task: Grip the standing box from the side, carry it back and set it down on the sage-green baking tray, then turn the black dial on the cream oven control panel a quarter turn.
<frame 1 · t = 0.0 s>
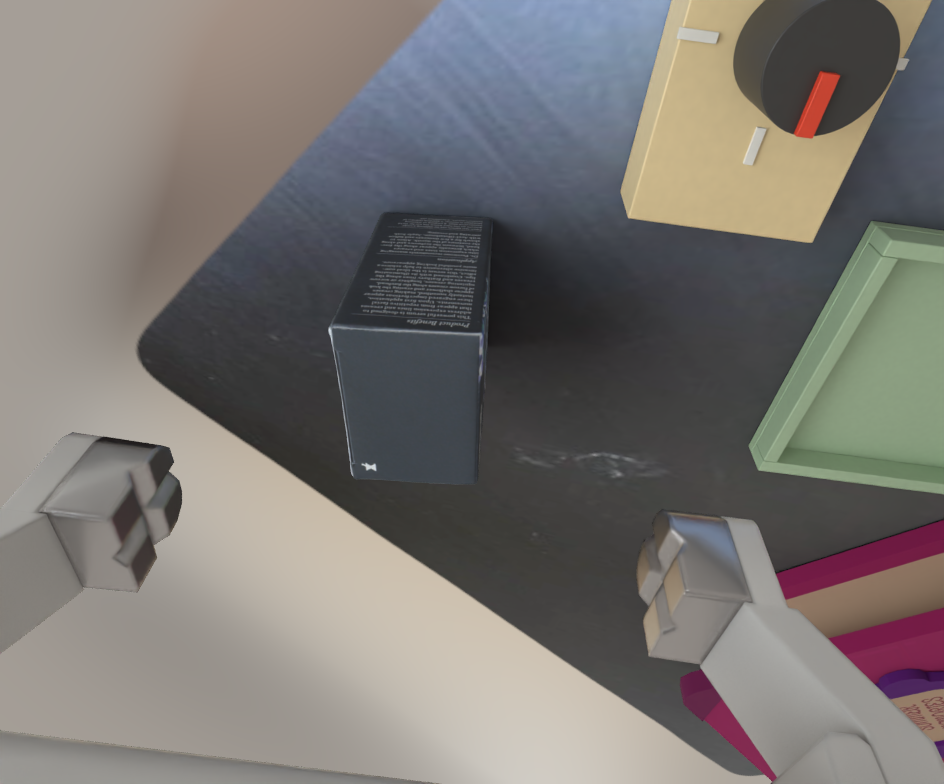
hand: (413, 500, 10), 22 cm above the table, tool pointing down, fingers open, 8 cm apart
book: (887, 617, 48), on the table
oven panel: (746, 88, 26), on the table
tray: (916, 363, 33), on the table
box: (438, 281, 33), on the table
dial: (811, 59, 21), point 5 cm above the table, hinge at 0.0°
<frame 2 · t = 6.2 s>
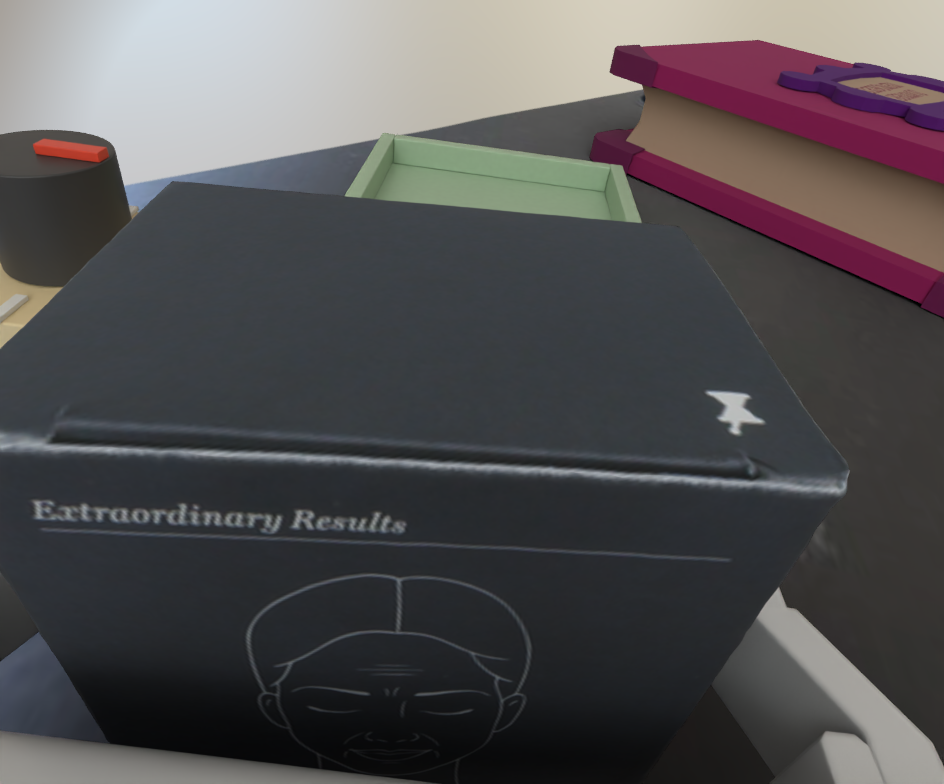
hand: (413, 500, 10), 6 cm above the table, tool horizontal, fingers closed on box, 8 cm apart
book: (831, 205, 43), on the table
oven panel: (152, 339, 23), on the table
tray: (493, 225, 34), on the table
box: (397, 712, 14), on the table, touching gripper
dial: (56, 202, 20), point 5 cm above the table, hinge at 0.0°
when the fingers open (7 cm above the table, at t = 16.5 s): box stays where it is, resting on tray.
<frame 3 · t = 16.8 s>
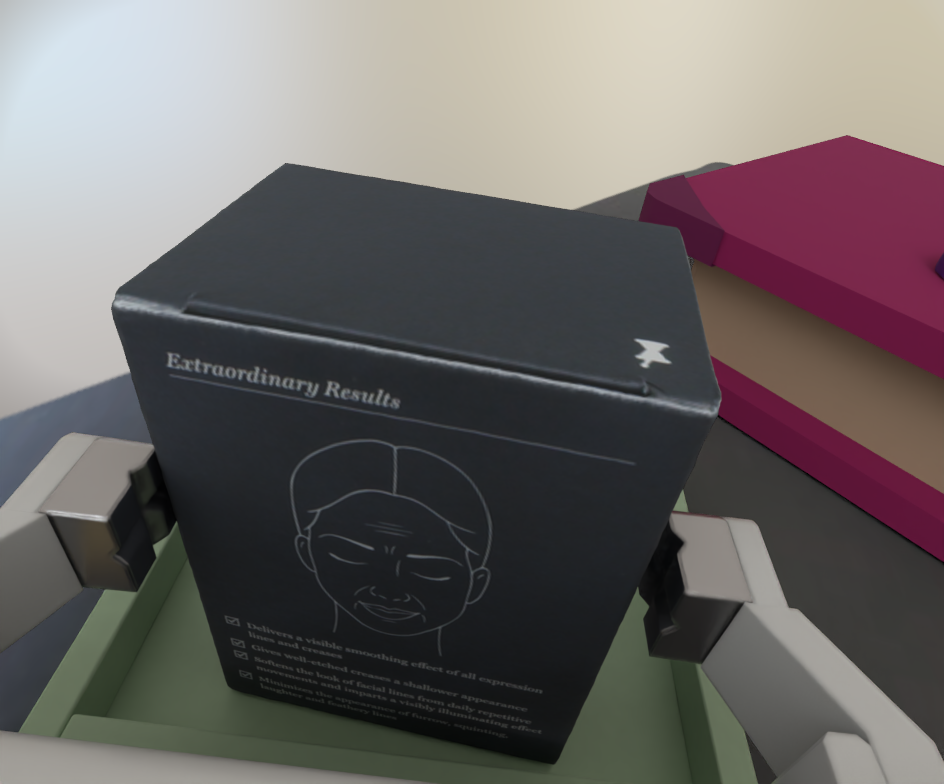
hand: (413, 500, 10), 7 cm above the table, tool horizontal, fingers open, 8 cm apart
tray: (428, 576, 18), on the table
box: (415, 625, 16), resting on tray, touching gripper
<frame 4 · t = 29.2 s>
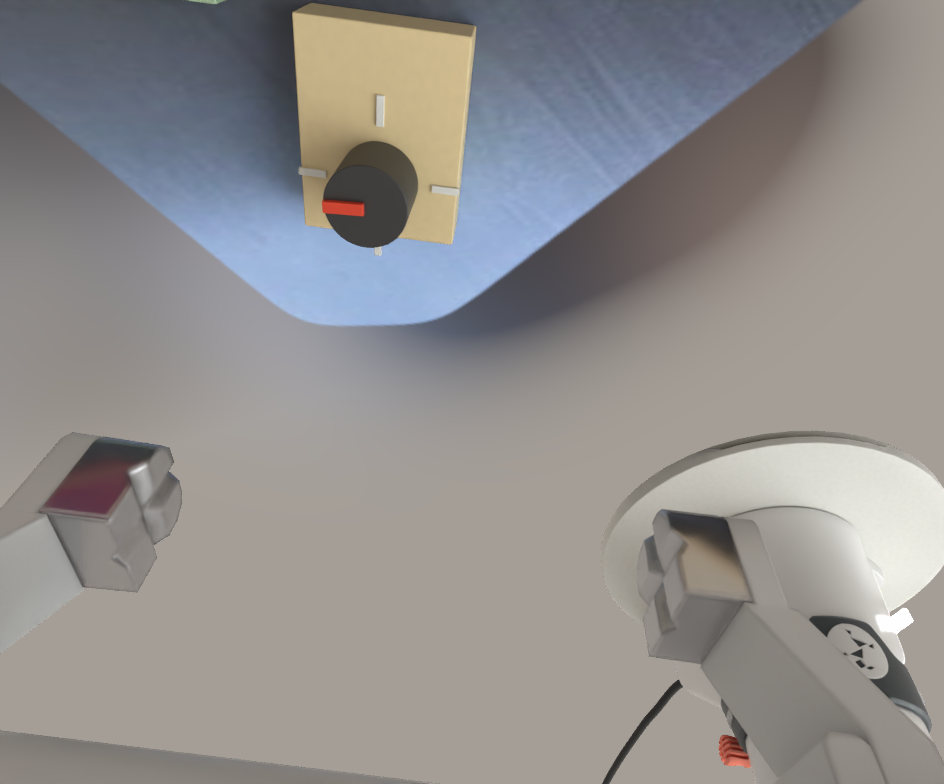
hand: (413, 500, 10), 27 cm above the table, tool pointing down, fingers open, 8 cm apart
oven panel: (390, 123, 33), on the table
dial: (372, 195, 30), point 5 cm above the table, hinge at 92.9°
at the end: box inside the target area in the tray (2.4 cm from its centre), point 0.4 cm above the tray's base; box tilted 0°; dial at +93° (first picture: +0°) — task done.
